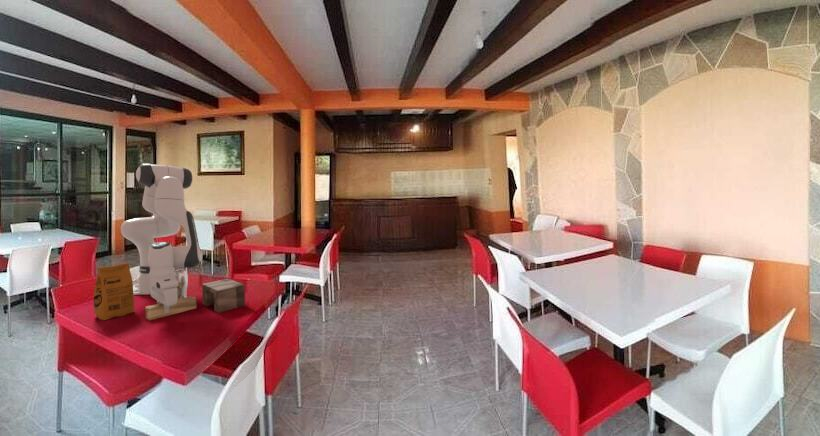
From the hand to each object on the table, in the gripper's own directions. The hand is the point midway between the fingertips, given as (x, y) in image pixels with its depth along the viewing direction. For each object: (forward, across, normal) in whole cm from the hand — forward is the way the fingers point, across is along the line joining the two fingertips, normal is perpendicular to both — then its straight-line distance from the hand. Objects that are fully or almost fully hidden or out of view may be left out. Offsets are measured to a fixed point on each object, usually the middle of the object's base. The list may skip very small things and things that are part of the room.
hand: (163, 311), depth 148 cm
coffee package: (+2, -16, -13) cm, 21 cm away
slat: (+2, 0, +3) cm, 4 cm away
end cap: (+2, +7, +22) cm, 23 cm away
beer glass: (+2, -14, +11) cm, 18 cm away
